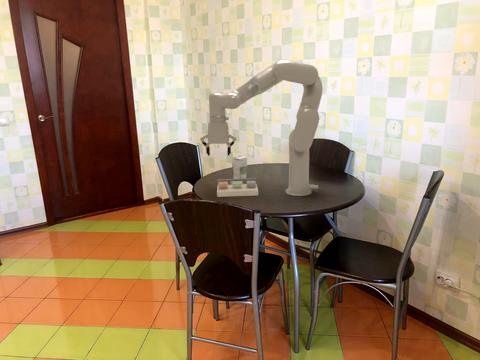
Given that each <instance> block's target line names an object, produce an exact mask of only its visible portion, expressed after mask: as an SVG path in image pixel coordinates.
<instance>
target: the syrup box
mask: <svg viewBox="0 0 480 360" xmlns="http://www.w3.org/2000/svg"><path fill="white" fill-rule="evenodd" d="M231 158H232V159H231V162H232V179H242V178H248V158H247V156H245V155H236V156H233V157H231Z"/></svg>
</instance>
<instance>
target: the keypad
mask: <svg viewBox="0 0 480 360" xmlns="http://www.w3.org/2000/svg"><path fill="white" fill-rule="evenodd" d="M232 181H242V187H233V184H232ZM246 181H256V182H257V177H254V178H253V177H251V178H250V177H247V178H242V179H233V178H221V179H220V178H219V179H216V183H217V187H216V188H217V189H216V196H217V197H218V198H221V197H223V198H225V197H244V196H245V197H248V196H249V197H250V196H251V197H253V196H259V188H258V185H257V183H256V186H247V184H246ZM218 182H228V187H218Z"/></svg>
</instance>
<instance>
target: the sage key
mask: <svg viewBox="0 0 480 360" xmlns="http://www.w3.org/2000/svg"><path fill="white" fill-rule="evenodd" d="M232 184H233V187H242V181H232Z"/></svg>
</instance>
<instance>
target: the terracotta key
mask: <svg viewBox="0 0 480 360" xmlns="http://www.w3.org/2000/svg"><path fill="white" fill-rule="evenodd" d="M218 187H228V182H218Z"/></svg>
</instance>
